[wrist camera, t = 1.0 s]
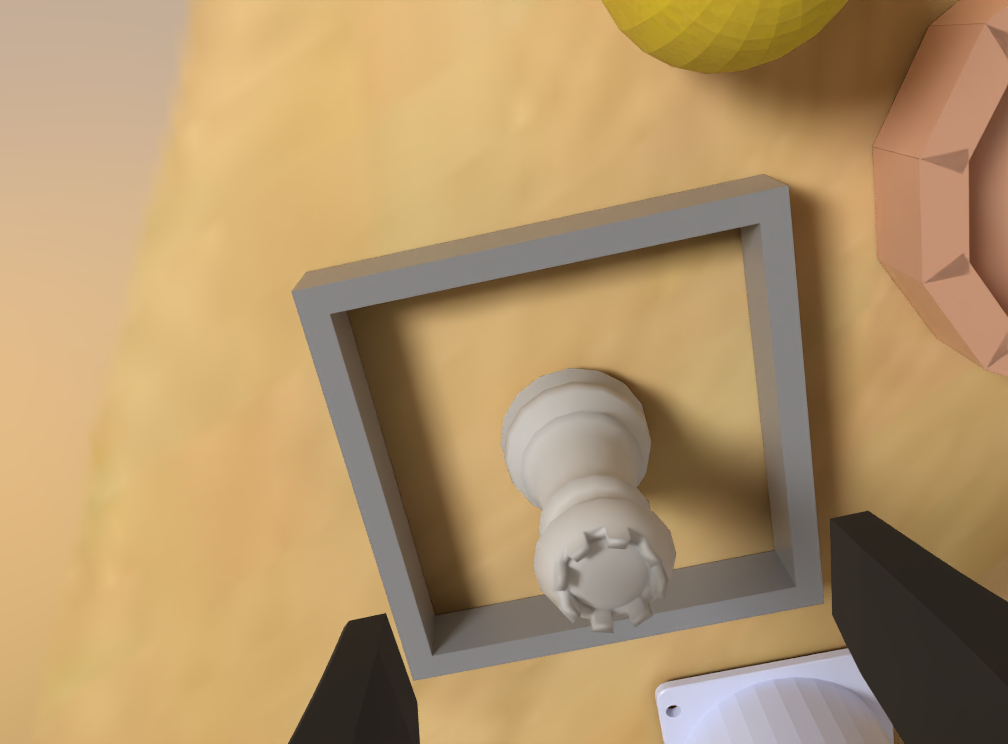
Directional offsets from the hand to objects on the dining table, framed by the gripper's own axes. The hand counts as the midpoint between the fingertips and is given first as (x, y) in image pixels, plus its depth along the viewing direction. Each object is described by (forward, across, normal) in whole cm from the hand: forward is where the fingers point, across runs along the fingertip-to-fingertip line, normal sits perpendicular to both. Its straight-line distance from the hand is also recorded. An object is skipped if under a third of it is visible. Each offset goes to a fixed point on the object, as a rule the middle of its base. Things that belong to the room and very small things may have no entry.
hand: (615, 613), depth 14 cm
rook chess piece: (+12, -1, +4) cm, 13 cm away
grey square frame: (+12, -1, +4) cm, 13 cm away
